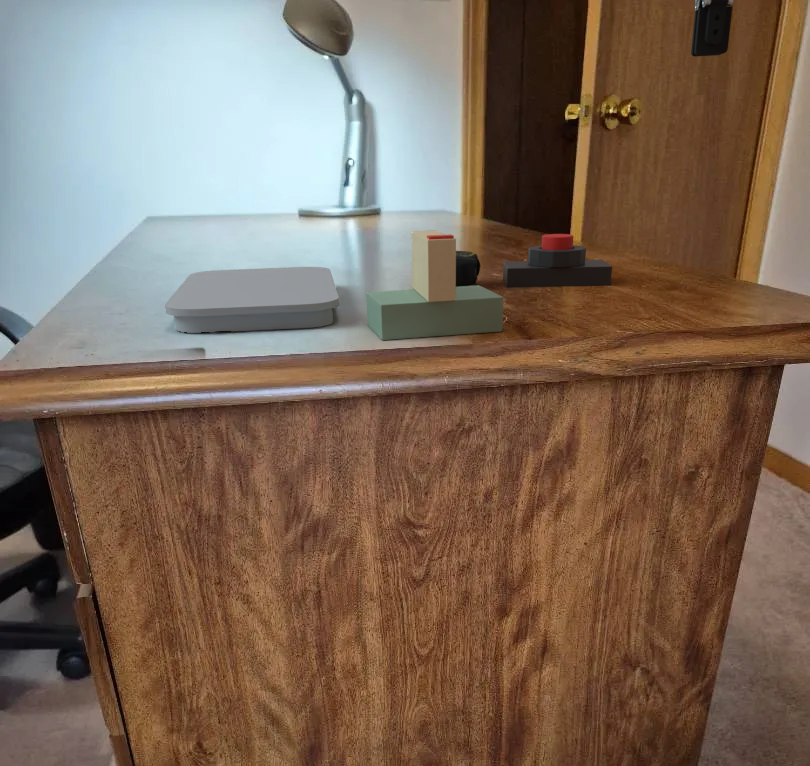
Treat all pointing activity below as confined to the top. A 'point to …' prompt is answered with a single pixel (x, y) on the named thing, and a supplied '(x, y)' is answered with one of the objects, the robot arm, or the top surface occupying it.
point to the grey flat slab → (254, 300)
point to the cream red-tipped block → (434, 265)
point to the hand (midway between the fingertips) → (708, 54)
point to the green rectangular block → (433, 313)
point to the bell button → (557, 241)
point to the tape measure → (467, 268)
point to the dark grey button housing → (556, 269)
